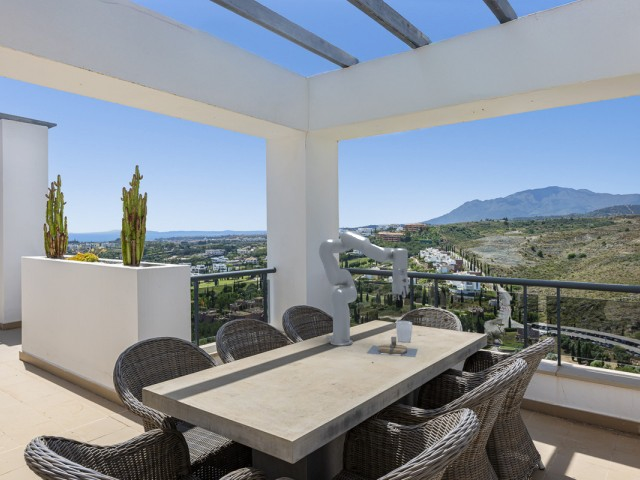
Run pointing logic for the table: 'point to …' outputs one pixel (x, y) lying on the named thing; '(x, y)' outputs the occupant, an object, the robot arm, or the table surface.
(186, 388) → the table surface
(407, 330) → the cup
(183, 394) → the table surface
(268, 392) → the table surface
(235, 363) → the table surface
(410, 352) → the blue-grey base board
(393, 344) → the crank wheel
